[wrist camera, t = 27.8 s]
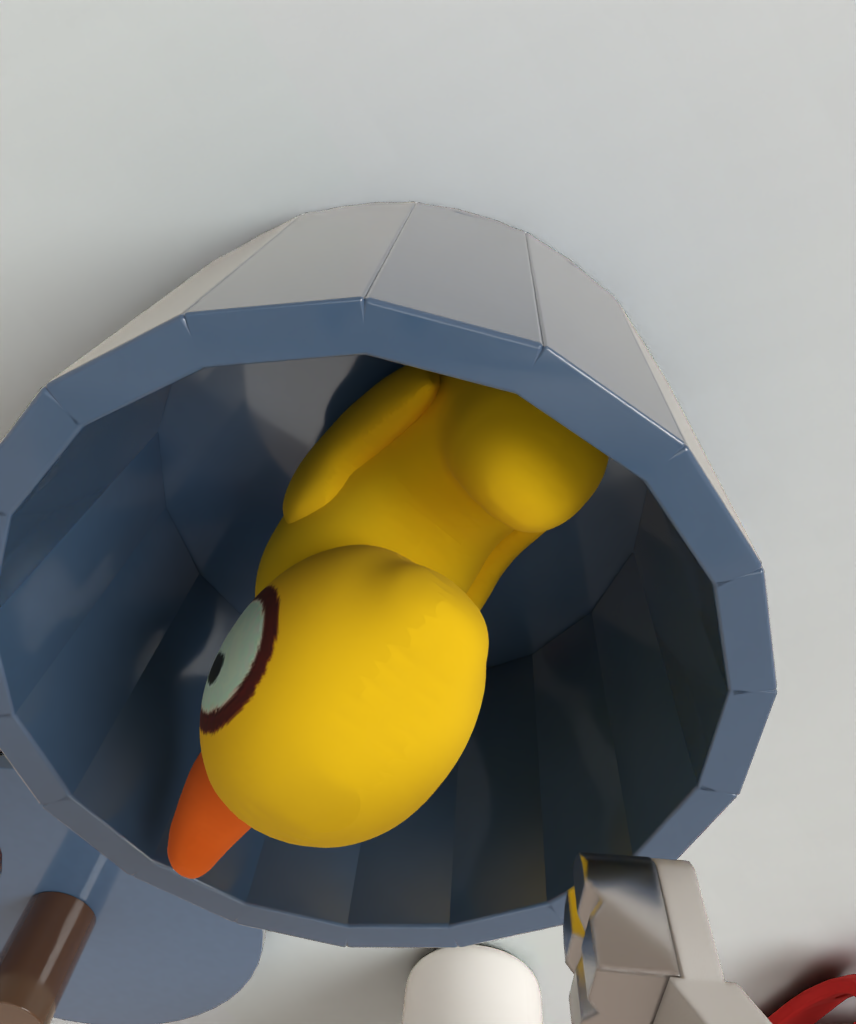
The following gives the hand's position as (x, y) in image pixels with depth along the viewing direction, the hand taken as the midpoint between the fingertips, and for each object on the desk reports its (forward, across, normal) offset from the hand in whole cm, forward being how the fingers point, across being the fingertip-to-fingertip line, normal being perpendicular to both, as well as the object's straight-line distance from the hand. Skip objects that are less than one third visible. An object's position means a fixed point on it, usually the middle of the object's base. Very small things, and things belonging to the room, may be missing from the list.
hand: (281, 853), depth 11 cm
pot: (+12, -1, 0) cm, 12 cm away
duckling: (+12, -1, 0) cm, 12 cm away
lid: (+11, +11, +19) cm, 25 cm away
